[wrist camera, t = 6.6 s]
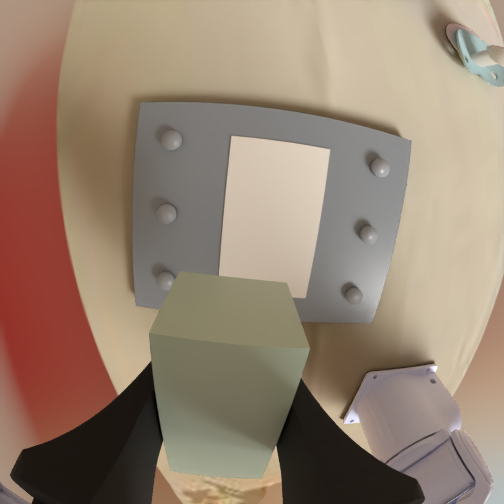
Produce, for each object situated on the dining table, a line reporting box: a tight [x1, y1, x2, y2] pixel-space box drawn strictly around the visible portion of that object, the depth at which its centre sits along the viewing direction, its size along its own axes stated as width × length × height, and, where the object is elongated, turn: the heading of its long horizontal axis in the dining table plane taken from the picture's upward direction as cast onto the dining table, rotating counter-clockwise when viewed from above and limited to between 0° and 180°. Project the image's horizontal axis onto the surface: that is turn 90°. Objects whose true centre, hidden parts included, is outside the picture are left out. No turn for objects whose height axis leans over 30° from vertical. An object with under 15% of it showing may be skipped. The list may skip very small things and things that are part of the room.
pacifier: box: [446, 23, 504, 87], centre depth 11 cm, size 7×6×6 cm
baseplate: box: [132, 102, 412, 323], centre depth 17 cm, size 18×14×2 cm
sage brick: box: [149, 271, 310, 479], centre depth 10 cm, size 4×8×4 cm, turn 172°
